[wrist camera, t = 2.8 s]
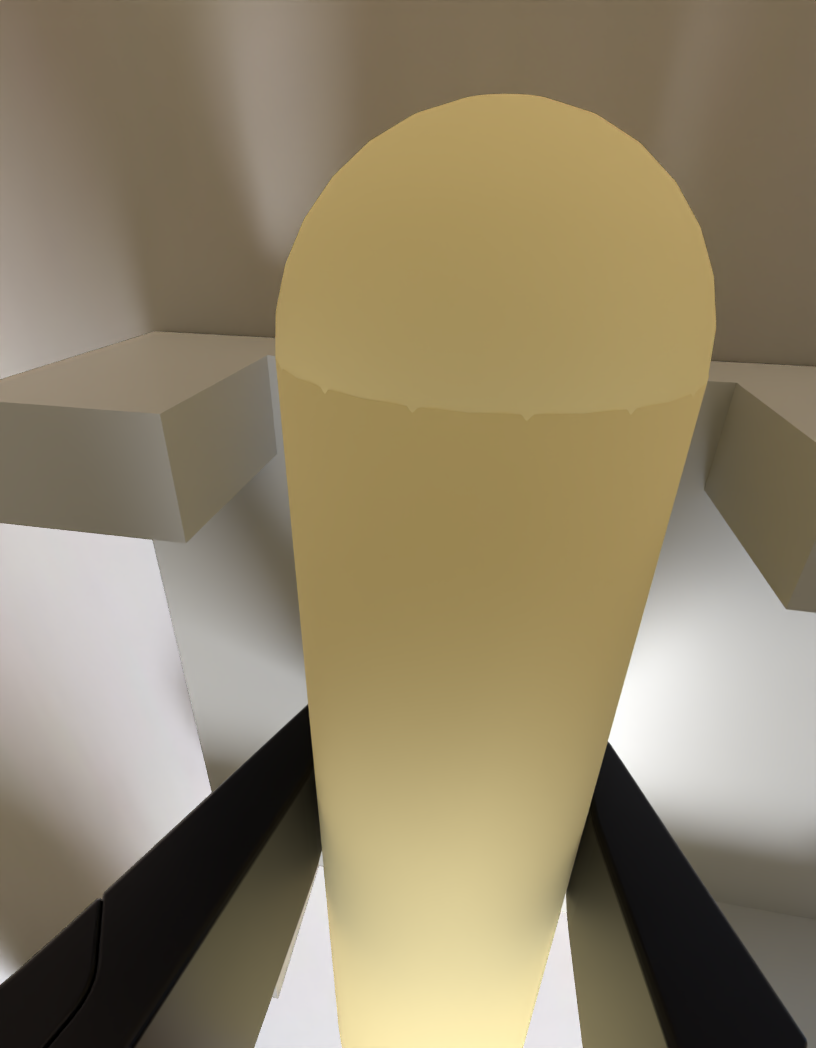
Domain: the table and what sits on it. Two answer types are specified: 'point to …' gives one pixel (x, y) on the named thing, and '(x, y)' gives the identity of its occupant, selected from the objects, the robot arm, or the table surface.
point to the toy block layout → (662, 641)
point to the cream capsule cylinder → (477, 529)
